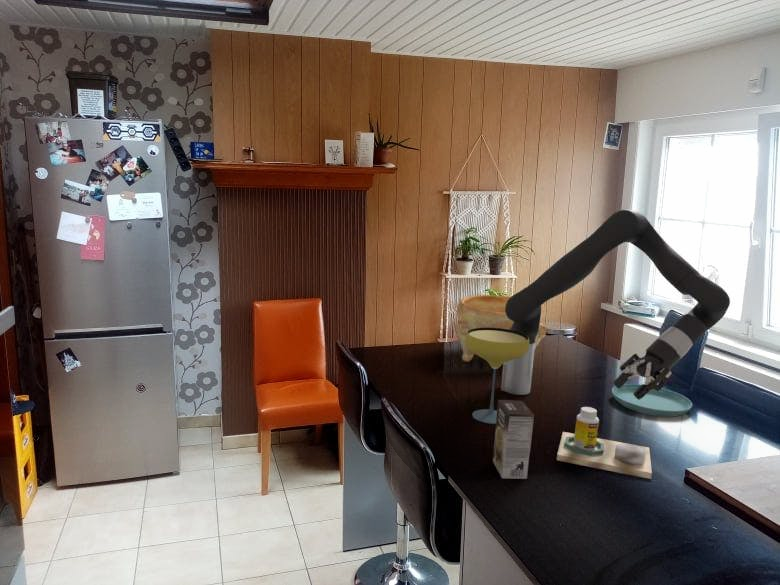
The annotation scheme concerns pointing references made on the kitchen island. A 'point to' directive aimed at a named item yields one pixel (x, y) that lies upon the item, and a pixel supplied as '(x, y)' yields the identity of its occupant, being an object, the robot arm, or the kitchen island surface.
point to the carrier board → (607, 456)
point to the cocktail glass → (495, 356)
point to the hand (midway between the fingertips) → (625, 391)
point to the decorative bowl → (484, 318)
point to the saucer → (652, 401)
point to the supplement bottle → (586, 429)
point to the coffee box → (512, 439)
